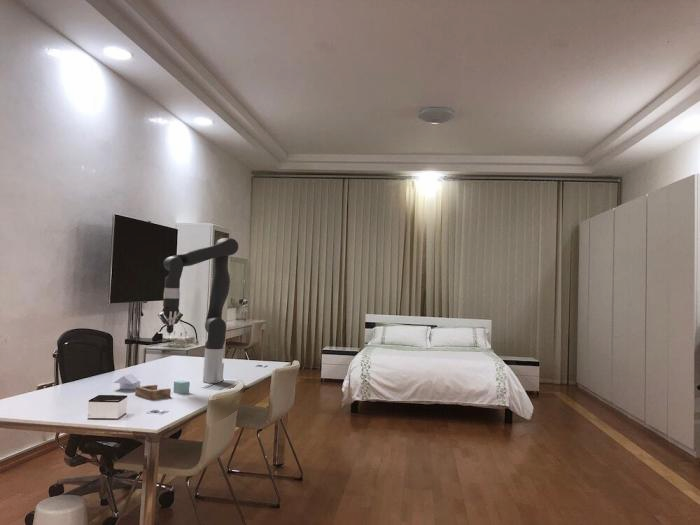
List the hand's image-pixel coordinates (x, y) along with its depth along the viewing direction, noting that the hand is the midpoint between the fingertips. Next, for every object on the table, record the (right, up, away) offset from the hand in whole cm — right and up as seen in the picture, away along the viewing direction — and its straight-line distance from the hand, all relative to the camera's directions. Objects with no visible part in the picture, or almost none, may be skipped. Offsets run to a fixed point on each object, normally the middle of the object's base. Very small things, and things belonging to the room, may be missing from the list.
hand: (169, 332), depth 272 cm
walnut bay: (+1, -25, -24) cm, 35 cm away
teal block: (+10, -26, -13) cm, 31 cm away
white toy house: (-16, -25, -10) cm, 32 cm away
